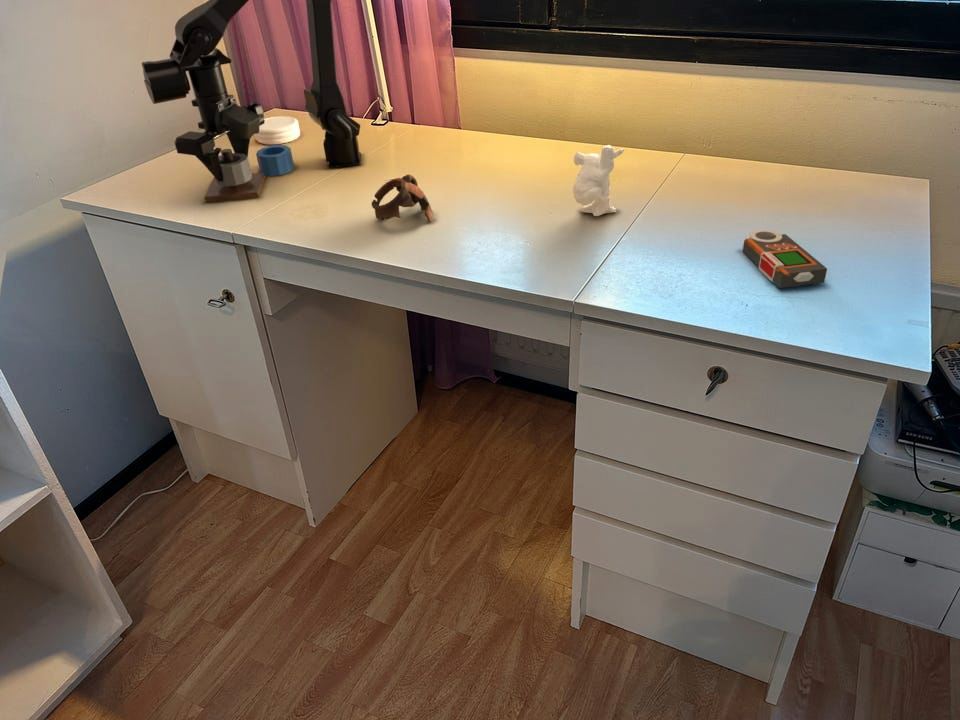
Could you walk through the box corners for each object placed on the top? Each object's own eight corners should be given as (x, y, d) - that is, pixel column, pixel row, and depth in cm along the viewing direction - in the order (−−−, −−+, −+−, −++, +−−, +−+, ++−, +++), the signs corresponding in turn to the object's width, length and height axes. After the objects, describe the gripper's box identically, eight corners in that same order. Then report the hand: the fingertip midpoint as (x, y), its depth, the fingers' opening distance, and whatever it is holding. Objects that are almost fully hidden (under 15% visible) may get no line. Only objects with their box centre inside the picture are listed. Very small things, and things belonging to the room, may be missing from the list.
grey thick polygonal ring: (254, 171, 146) (249, 151, 143) (249, 184, 140) (244, 164, 138) (219, 174, 145) (214, 154, 143) (213, 187, 140) (207, 167, 137)
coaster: (309, 132, 169) (306, 117, 167) (283, 147, 162) (279, 131, 160) (274, 128, 173) (270, 113, 171) (247, 143, 166) (243, 127, 164)
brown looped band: (434, 232, 125) (407, 198, 120) (390, 251, 129) (361, 219, 124) (441, 187, 133) (414, 154, 127) (399, 207, 137) (372, 175, 132)
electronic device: (778, 225, 114) (829, 267, 102) (775, 243, 116) (825, 286, 104) (737, 230, 114) (782, 273, 101) (734, 247, 115) (779, 291, 103)
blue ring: (295, 162, 154) (291, 143, 152) (292, 174, 149) (288, 155, 147) (263, 165, 154) (258, 146, 152) (258, 177, 149) (254, 158, 146)
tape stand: (265, 177, 148) (256, 139, 143) (258, 197, 140) (248, 157, 135) (215, 182, 148) (204, 143, 143) (205, 202, 140) (193, 162, 135)
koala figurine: (626, 208, 128) (630, 141, 121) (610, 223, 123) (614, 154, 116) (582, 199, 132) (584, 134, 125) (565, 214, 127) (566, 147, 120)
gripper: (211, 111, 123) (234, 198, 132) (277, 80, 137) (294, 161, 146) (161, 106, 127) (187, 191, 136) (230, 76, 141) (250, 155, 150)
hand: (232, 174), depth 142 cm, fingers closed on grey thick polygonal ring, 7 cm apart
